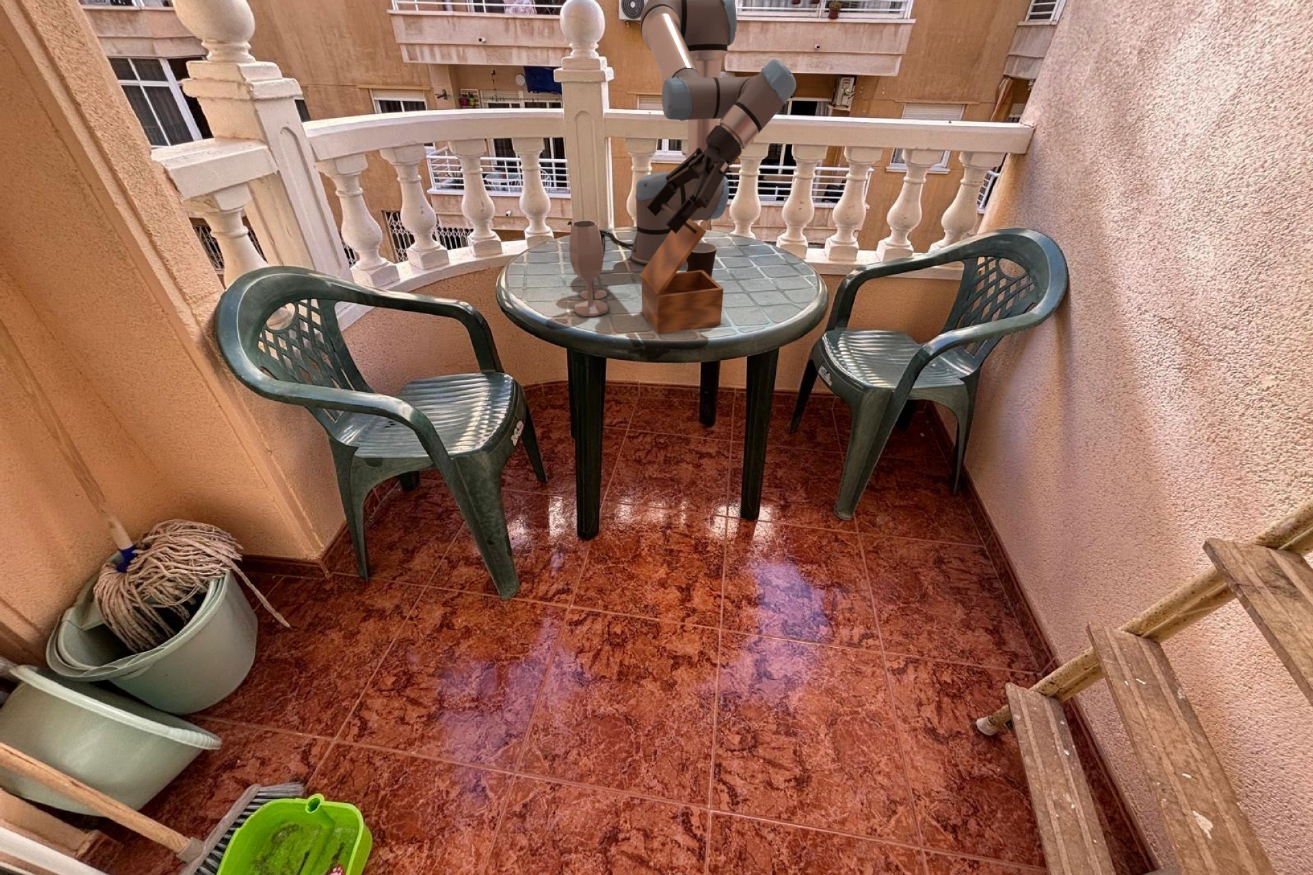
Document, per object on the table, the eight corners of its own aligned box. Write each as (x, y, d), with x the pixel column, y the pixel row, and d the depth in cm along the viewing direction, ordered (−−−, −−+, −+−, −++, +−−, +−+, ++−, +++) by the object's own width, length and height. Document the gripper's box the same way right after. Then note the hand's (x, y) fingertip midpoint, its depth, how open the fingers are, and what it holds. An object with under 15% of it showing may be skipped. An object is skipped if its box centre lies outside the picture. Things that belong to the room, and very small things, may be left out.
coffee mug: (709, 291, 143) (711, 254, 137) (679, 287, 145) (680, 250, 139) (720, 276, 152) (723, 241, 146) (691, 272, 154) (693, 237, 148)
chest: (700, 303, 137) (702, 269, 131) (720, 324, 127) (723, 288, 122) (642, 311, 133) (641, 277, 127) (658, 333, 123) (658, 297, 118)
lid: (685, 215, 122) (662, 196, 118) (706, 231, 112) (682, 211, 108) (642, 276, 127) (619, 260, 123) (659, 296, 118) (635, 279, 114)
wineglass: (579, 320, 129) (571, 231, 116) (569, 306, 135) (560, 220, 122) (613, 314, 132) (608, 226, 119) (601, 300, 138) (596, 216, 125)
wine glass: (584, 302, 137) (579, 243, 128) (574, 291, 143) (568, 234, 134) (613, 296, 140) (610, 238, 131) (601, 286, 146) (597, 230, 137)
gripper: (768, 162, 102) (692, 249, 107) (717, 141, 121) (654, 216, 126) (746, 132, 97) (667, 224, 103) (697, 115, 116) (632, 194, 122)
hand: (660, 220), depth 114 cm, fingers open, 13 cm apart
